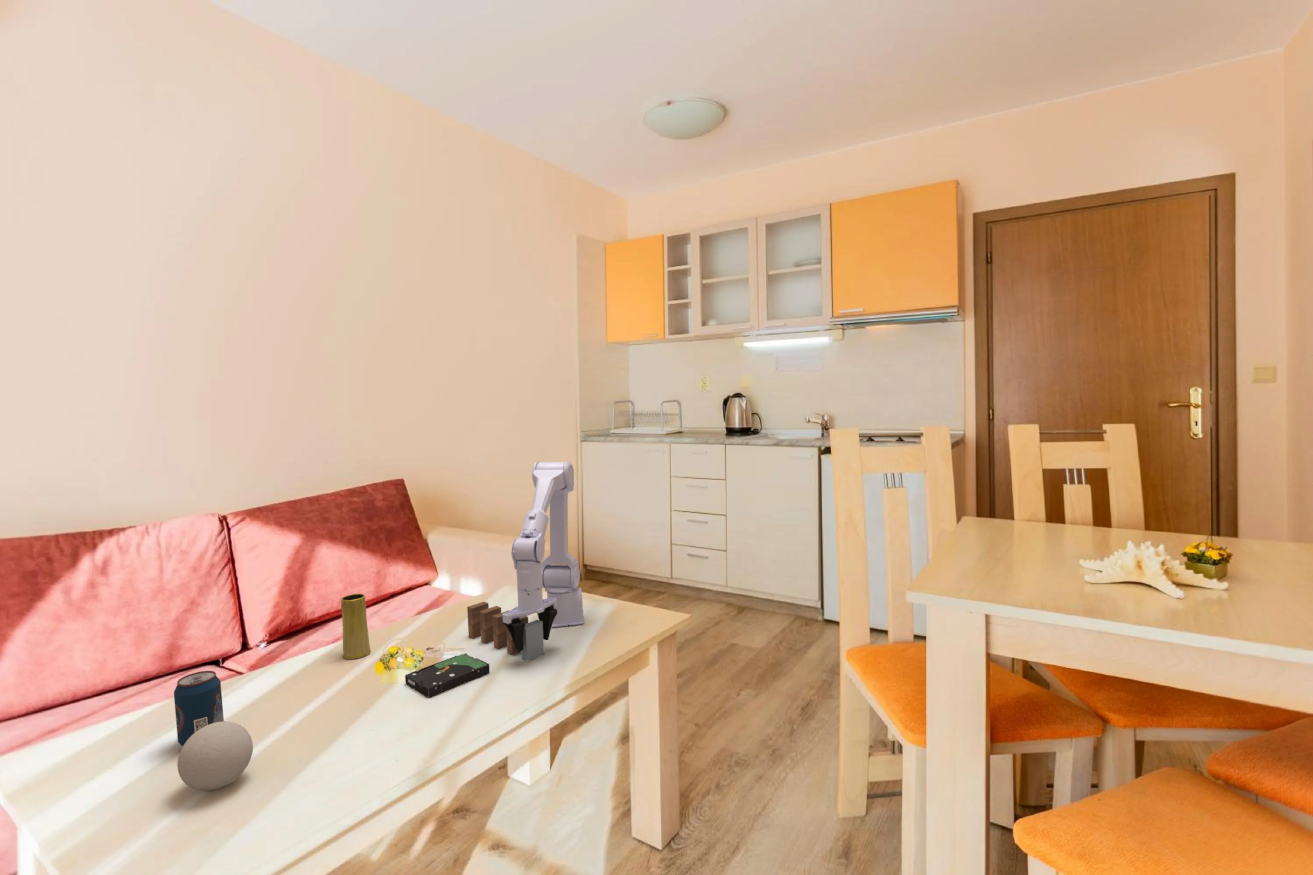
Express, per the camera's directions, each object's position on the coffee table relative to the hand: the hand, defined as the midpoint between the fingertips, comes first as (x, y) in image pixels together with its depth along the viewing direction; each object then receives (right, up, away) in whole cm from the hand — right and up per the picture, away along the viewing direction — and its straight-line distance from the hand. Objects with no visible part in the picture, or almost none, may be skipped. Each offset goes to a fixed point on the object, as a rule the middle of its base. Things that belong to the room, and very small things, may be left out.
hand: (532, 644), depth 149 cm
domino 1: (-12, -3, +11) cm, 17 cm away
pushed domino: (-17, -2, +15) cm, 22 cm away
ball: (-42, -8, -47) cm, 63 cm away
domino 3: (-4, -3, +4) cm, 6 cm away
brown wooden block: (-8, -3, +7) cm, 11 cm away
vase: (-43, -4, +4) cm, 44 cm away
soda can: (-54, -7, -33) cm, 64 cm away
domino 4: (0, -3, 0) cm, 3 cm away
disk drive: (-16, -5, -10) cm, 20 cm away
